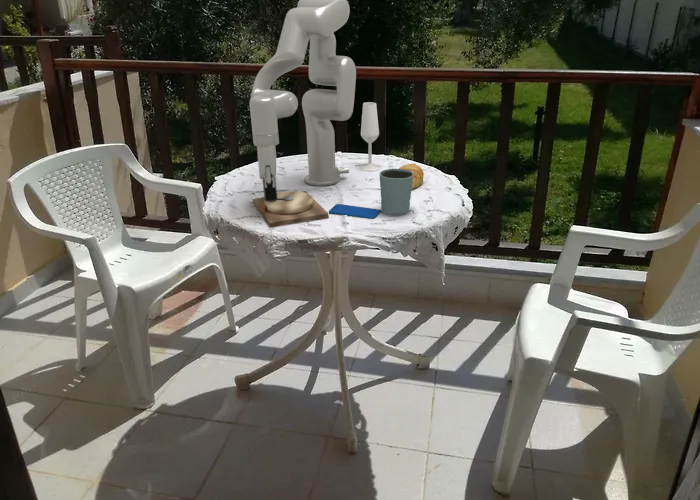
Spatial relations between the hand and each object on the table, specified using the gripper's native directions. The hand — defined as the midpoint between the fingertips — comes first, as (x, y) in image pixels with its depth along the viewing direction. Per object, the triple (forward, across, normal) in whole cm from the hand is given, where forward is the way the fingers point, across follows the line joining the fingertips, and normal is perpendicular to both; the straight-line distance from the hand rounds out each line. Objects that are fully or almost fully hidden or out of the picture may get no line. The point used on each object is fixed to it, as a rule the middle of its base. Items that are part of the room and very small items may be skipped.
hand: (271, 196), depth 182 cm
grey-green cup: (+5, +6, +38) cm, 39 cm away
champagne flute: (+6, -38, +36) cm, 52 cm away
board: (+5, +1, +5) cm, 7 cm away
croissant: (+6, -19, +47) cm, 51 cm away
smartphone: (+5, +6, +25) cm, 26 cm away
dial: (+3, +1, +5) cm, 6 cm away
